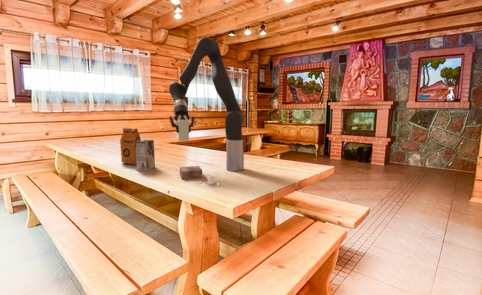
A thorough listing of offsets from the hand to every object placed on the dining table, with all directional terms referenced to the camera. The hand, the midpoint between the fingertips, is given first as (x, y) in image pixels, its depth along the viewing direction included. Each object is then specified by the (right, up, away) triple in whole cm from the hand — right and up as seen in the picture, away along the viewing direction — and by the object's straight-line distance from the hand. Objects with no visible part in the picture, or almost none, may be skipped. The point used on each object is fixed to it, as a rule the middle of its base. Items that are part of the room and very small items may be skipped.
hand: (183, 132), depth 141 cm
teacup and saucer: (+19, -26, -17) cm, 36 cm away
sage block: (-1, -4, +2) cm, 5 cm away
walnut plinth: (+5, -23, -5) cm, 24 cm away
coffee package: (-37, -18, +24) cm, 48 cm away
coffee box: (-24, -20, +11) cm, 33 cm away
